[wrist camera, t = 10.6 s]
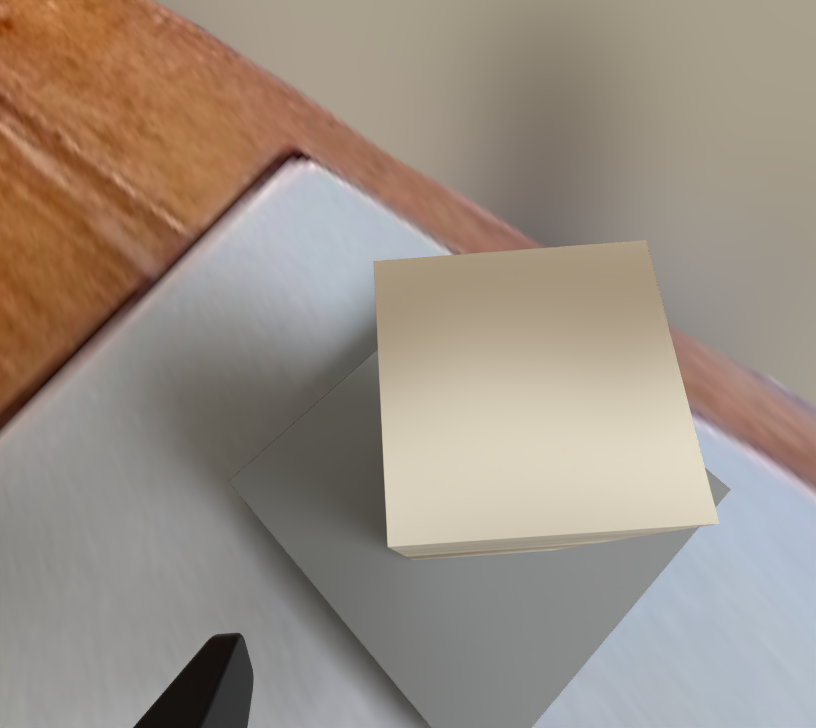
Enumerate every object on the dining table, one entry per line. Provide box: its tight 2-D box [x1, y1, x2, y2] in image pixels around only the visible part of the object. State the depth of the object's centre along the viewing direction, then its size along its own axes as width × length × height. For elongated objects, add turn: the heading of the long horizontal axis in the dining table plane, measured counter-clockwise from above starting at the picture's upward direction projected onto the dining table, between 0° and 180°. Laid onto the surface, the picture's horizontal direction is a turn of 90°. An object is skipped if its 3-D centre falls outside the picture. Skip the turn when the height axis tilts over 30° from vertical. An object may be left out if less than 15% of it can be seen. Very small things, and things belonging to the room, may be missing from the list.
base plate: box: [228, 349, 730, 728], centre depth 20 cm, size 12×12×2 cm
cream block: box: [374, 240, 719, 560], centre depth 13 cm, size 4×4×11 cm
